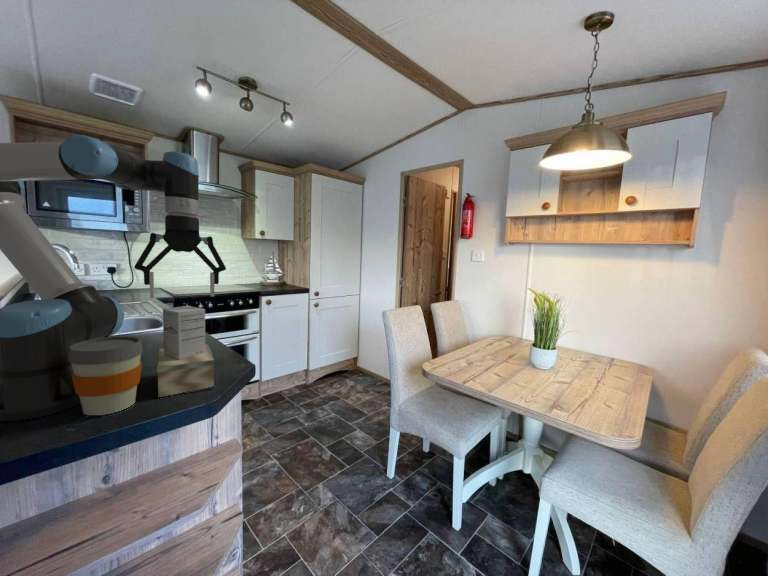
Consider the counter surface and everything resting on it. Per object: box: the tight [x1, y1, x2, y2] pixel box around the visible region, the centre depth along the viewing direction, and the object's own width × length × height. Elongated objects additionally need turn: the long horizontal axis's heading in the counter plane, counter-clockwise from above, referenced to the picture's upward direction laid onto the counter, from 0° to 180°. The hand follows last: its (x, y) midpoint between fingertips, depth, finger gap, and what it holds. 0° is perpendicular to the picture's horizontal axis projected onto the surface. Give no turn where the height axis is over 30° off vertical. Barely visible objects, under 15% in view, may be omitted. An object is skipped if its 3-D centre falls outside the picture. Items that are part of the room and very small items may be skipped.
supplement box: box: [162, 305, 206, 360], centre depth 86 cm, size 7×7×13 cm
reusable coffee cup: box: [69, 335, 144, 415], centre depth 72 cm, size 13×13×15 cm
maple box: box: [156, 343, 215, 398], centre depth 87 cm, size 12×16×8 cm
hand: (183, 296), depth 85 cm, fingers open, 13 cm apart
